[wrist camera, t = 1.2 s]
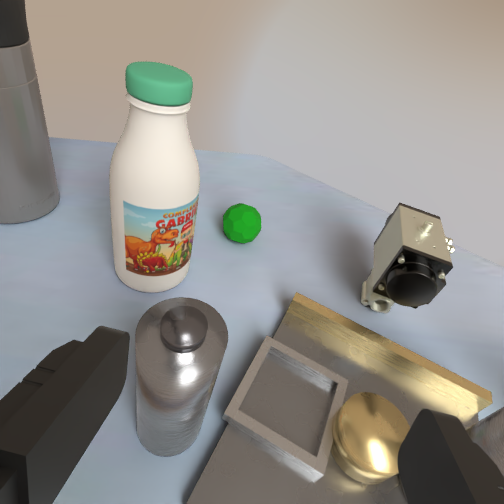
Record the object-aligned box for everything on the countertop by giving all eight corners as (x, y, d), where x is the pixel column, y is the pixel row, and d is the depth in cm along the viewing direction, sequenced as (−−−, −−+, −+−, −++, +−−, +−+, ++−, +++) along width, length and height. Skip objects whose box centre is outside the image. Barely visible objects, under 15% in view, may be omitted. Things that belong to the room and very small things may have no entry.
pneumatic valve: (352, 328, 36) (410, 248, 29) (358, 262, 45) (404, 188, 37) (401, 347, 36) (474, 272, 28) (397, 277, 45) (452, 205, 37)
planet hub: (122, 433, 24) (113, 335, 16) (163, 379, 28) (173, 275, 19) (177, 470, 23) (199, 387, 15) (212, 410, 27) (246, 315, 18)
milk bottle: (99, 279, 34) (73, 63, 20) (138, 236, 39) (137, 46, 26) (169, 305, 33) (190, 102, 20) (198, 258, 39) (228, 76, 26)
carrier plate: (175, 503, 22) (200, 425, 13) (283, 306, 36) (330, 205, 28) (493, 726, 18) (842, 832, 9) (471, 404, 33) (595, 324, 24)
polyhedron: (214, 242, 42) (220, 212, 38) (225, 221, 45) (231, 192, 42) (252, 255, 42) (261, 225, 38) (259, 232, 45) (268, 204, 42)
